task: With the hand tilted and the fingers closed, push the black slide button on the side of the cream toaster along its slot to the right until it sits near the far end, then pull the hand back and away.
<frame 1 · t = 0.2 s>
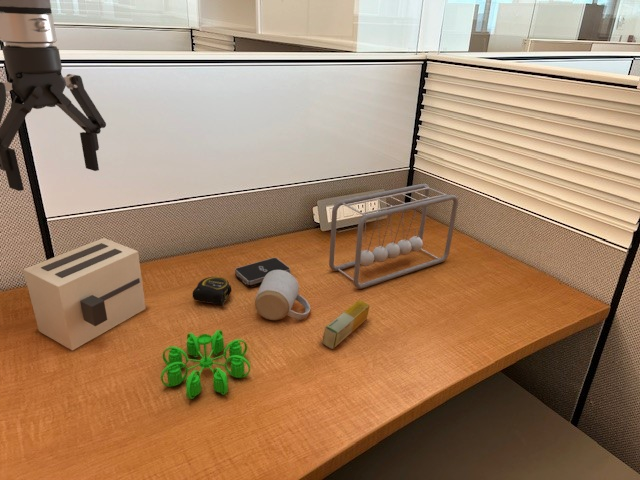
hand: (57, 178, 82), 28 cm above the table, tool pointing down, fingers open, 13 cm apart
external hard drive: (263, 277, 110), on the table
slider button: (93, 310, 83), point 7 cm above the table, slide at 0.0 cm
ceramic mug: (283, 312, 97), on the table
chandelier: (206, 373, 80), on the table
toaster: (94, 319, 92), on the table
newton's cradle: (390, 266, 117), on the table
medication box: (345, 333, 92), on the table
tape measure: (214, 301, 100), on the table
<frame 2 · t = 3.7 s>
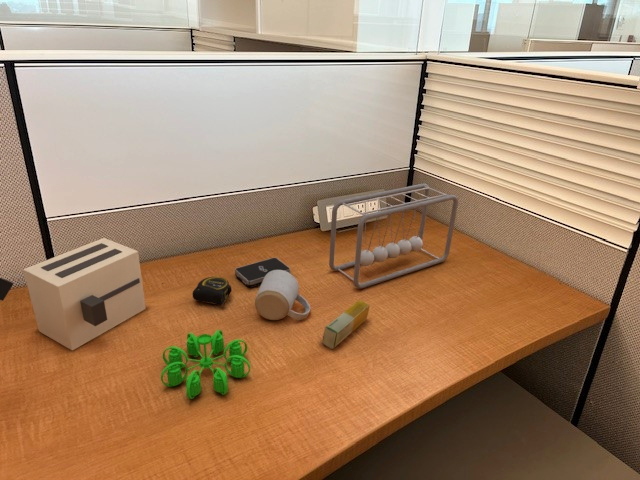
hand: (5, 290, 68), 18 cm above the table, tool tilted 45°, fingers closed
nothing on the table moved.
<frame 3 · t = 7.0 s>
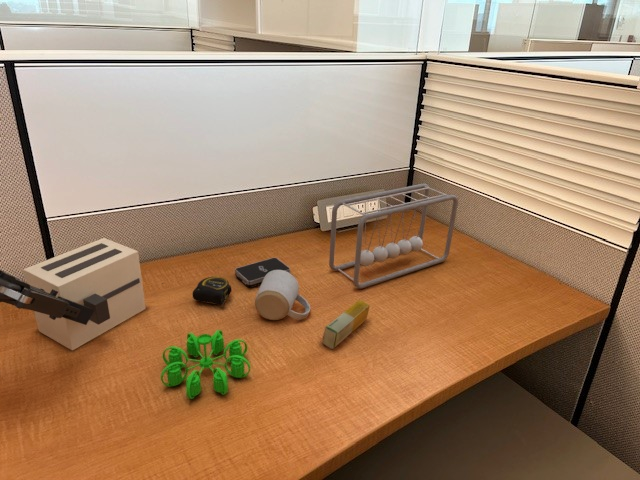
hand: (87, 316, 81), 7 cm above the table, tool tilted 45°, fingers closed
slider button: (96, 308, 83), point 7 cm above the table, slide at 0.6 cm, touching gripper
everything else where it was.
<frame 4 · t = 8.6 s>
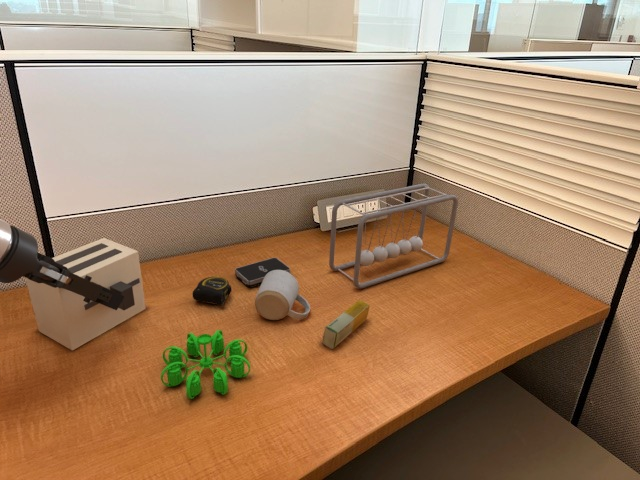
hand: (118, 302, 84), 8 cm above the table, tool tilted 45°, fingers closed
slider button: (122, 295, 87), point 7 cm above the table, slide at 5.9 cm, touching gripper
everything else where it was.
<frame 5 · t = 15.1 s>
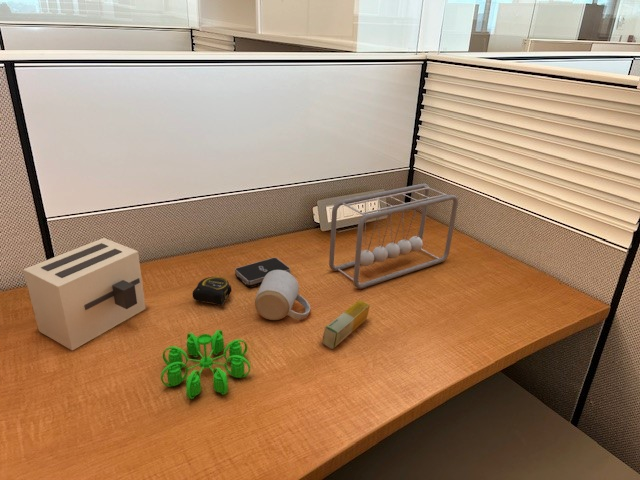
slider button: (124, 294, 88), point 7 cm above the table, slide at 6.4 cm
everything else where it was.
at the end: slider button slide at 6.4 cm; the gripper is holding nothing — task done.
